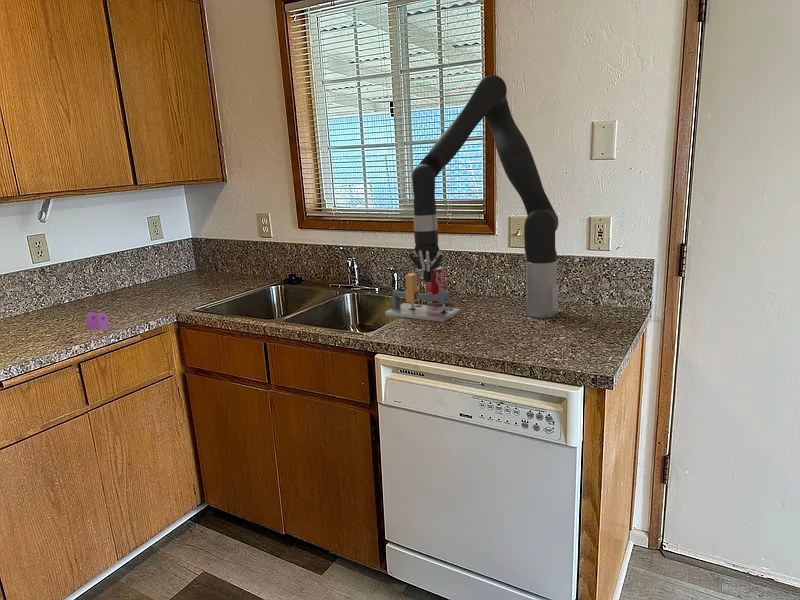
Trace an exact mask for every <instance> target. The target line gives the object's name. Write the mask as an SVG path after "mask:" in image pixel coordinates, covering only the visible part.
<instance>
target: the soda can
mask: <svg viewBox="0 0 800 600" xmlns="http://www.w3.org/2000/svg"><path fill="white" fill-rule="evenodd" d="M424 284H425V286H424V287H425V294H436V295H438V293H439V292H442V291H447V287H446V285H447V283H446V271H445V270H444V267H443V266H440V265H439V267H438V268H437V269H434V270H433V280H432V282H430V283H429V282H425V281H424ZM425 302H426V304H427V305H428V306H438V307H441V306H442V303H438V301H435V300H425Z"/></svg>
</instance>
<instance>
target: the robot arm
mask: <svg viewBox="0 0 800 600" xmlns="http://www.w3.org/2000/svg"><path fill="white" fill-rule="evenodd" d="M507 91H508V90H507V85H506V82H505V80H504V79H503V78H502V77H500V76H499V75H495V74H492V75H490V74H489V75H486V76H484V77H483V78H482V79H480V81H479V82H478V83H477V85H476V87H475V89H474V91H473V93H472V94H471V96H470V98H469V99H468V101H467V102H466V104H465V106H464V107H463V109H462V110H461V111H460V113H459V114H458V115H457V116H456V118H455V119H454V120H453V122H451V124H450V125H448V127H447V128H446V130H445V131H444V132H443V133H442V134H441V135H440V137H439V138H438V140H436V142H435V143H433V146H432V147H431V149H430V150H429V152H428V153H427V154H426V155H425V156H424V157H423V158H422V159H421V160H420V161H419V163H418V164H417V165H416V166H415V168H414V169H413V171H412V173H411V178H412V179H411V180H412V189H413V190H412V191H413V231H414V232H413V234H414V235H413V236H414V244H415V247H414V249H413V251H412V252H411V253H409V254H408V256H409V258H410V259H411V261H412V262H413V264H414V265H415V267H416V268H417V269H419V270H421V271H422V274H423V281H424V283H425V282H429V283H430V282H432V280H433V270H434V269H437V268H438V267H439V266H440V265H441V264H442V263H443V261H444V260H445V259H446V257H447V254H446V253H442V252H441V251H440V247H439V232H438V231H439V230H438V229H439V228H438V217H437V204H436V178H437V177H438V175H439V174H440V173H441V171H442V170H443V169H444V167H446V166H447V165H448V164H449V163H450V162H451V161H452V159H454V157H455V156H456V155H457V154H458V153H459V151H460V150H461V148H463V146H464V144H465V143H466V141H467V140H468V138H469V137H470V135H471V134H472V132H473V131H474V130H475V128H476V127H477V125H479V123H480V122H481V121H482V120H483V119H484V118H485V120H486V122H487V124H488V126H489V128H490V131H491V134H492V138H493V140H494V141H493V142H494V145H495V148H496V152H497V154H498V158H499V161H500V162H501V165H502V167H503V170H504V173H505V175H506V177H507V179H508V180H509V182H510V184H511V185H512V186H513V188H514V190H516V192H517V193H518V195H519V197H520V199H521V201H522V204H523V206H524V209H525V212H526V215H527V216H526V218H525V220H524V227H523V234H524V235H523V236H524V237H523V238H524V241H523V242H524V253H525V262H526V263H525V264H526V267H525V269H526V271H525V272H526V276H525V281H526V282H525V285H526V286H525V287H526V288H525V290H526V291H525V293H526V297H525V301H526V302H525V303H526V305H525V308H526V309H525V310H526V311H525V312H526V316H527V317H528V316H529V317H533V318H538V319H539V318H541V319H542V318H554V317H555V316H556V315H558V314H559V284H558V283H557V276H558V275H557V265H558V262H557V260H558V254H557V249H556V231H557V230H558V229H559V218H558V217H559V216H558V214H557V212H556V211H555V209H554V208H553V206H552V204H551V202H550V199H549V197H548V196H547V193H546V191H545V189H544V187H543V184H542V180H541V177H540V173H539V171H538V168H537V166H536V161H535V159H534V157H533V154H532V152H531V148H530V147H529V143H528V142H527V141H526V139H525V137H524V135H523V134H522V132H521V130H520V129H519V127H518V126H517V124H516V122H515V120H514V118H513V115H512V113H511V112H512V111H511V109H510V106H509V102H508V99H507V93H508V92H507ZM435 259H436V260H435Z"/></svg>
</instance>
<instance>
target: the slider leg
mask: <svg viewBox="0 0 800 600" xmlns="http://www.w3.org/2000/svg"><path fill="white" fill-rule="evenodd" d="M417 275H418V274H417V273H411V272H410V273H408V274H405V284H406V289H405V290H404V292H405V295H406V298H405V303H409V304H411V308H414V304H415V303H416V302H418V301H420V299H415V296H414V293H420V288H419V287H418V276H417Z"/></svg>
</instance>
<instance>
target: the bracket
mask: <svg viewBox="0 0 800 600" xmlns="http://www.w3.org/2000/svg"><path fill="white" fill-rule="evenodd" d="M85 323H86V331H87V330H92V329H94V328H97V330H98V331H100V330H103V329H105V328H109V327H110V322H109V317H108V315H107V313H105V312H98V313H97V312H91V311H90V312H87V313H86V315H85Z"/></svg>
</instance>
